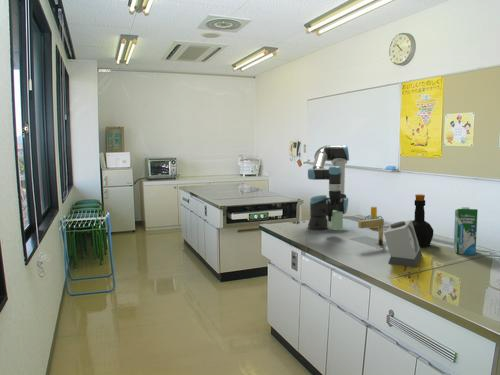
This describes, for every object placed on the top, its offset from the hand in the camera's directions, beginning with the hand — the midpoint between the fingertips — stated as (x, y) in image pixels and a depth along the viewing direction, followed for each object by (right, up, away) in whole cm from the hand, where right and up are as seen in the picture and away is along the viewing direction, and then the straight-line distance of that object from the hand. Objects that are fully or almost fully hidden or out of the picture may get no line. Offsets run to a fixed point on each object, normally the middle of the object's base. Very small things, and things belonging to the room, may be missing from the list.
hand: (334, 225), depth 245 cm
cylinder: (+33, -4, +24) cm, 41 cm away
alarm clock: (+26, -13, -46) cm, 55 cm away
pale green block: (0, -2, 0) cm, 2 cm away
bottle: (+45, -10, -21) cm, 51 cm away
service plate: (+19, -9, -13) cm, 25 cm away
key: (+16, -9, -22) cm, 29 cm away
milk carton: (+63, -11, -38) cm, 74 cm away
